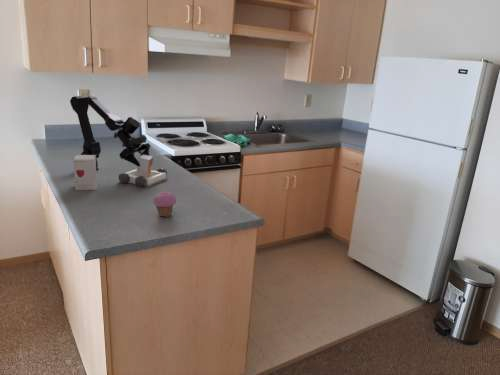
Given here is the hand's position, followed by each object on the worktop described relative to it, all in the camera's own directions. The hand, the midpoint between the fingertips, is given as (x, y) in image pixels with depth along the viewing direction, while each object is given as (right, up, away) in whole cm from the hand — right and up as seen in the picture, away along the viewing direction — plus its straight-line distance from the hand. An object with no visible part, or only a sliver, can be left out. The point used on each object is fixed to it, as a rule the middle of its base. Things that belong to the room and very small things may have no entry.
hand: (145, 164), depth 203 cm
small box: (-2, -6, +2) cm, 7 cm away
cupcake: (+18, -24, -40) cm, 50 cm away
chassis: (-2, -8, +3) cm, 9 cm away
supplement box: (-24, -12, -13) cm, 30 cm away
